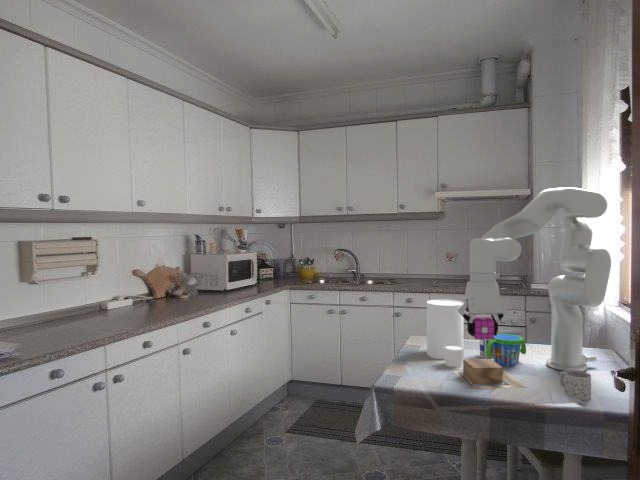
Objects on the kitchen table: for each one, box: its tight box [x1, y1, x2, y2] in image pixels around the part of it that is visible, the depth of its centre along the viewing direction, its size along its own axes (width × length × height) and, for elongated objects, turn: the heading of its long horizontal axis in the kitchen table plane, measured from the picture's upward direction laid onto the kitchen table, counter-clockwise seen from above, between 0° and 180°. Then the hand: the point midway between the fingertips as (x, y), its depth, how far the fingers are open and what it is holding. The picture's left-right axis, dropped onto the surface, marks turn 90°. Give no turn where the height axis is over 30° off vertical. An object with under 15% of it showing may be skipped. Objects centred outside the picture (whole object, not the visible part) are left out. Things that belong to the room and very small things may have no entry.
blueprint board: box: [453, 369, 528, 390], centre depth 144 cm, size 17×16×1 cm
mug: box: [559, 370, 592, 402], centre depth 133 cm, size 10×7×7 cm, turn 12°
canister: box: [426, 299, 464, 360], centre depth 174 cm, size 14×14×20 cm
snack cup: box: [486, 333, 527, 367], centre depth 160 cm, size 16×10×10 cm
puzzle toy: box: [472, 316, 494, 340], centre depth 143 cm, size 6×6×6 cm
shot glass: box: [444, 345, 465, 368], centre depth 159 cm, size 7×7×7 cm
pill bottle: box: [479, 339, 494, 359], centre depth 171 cm, size 6×6×10 cm
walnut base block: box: [462, 358, 504, 384], centre depth 144 cm, size 9×9×5 cm
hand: (482, 334), depth 143 cm, fingers closed on puzzle toy, 6 cm apart
